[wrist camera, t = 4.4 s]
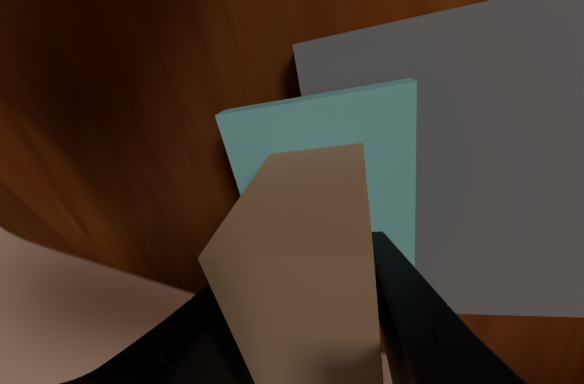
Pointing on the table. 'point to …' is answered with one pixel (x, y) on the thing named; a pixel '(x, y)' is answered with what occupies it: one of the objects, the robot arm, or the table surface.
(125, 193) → the table surface
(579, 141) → the board
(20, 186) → the table surface
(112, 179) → the table surface
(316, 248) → the stub
